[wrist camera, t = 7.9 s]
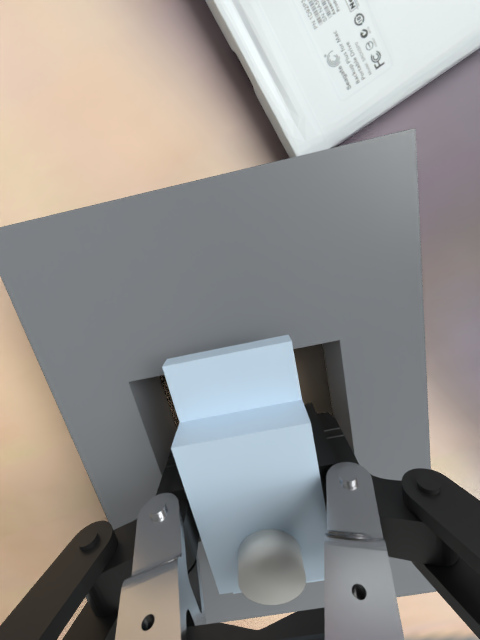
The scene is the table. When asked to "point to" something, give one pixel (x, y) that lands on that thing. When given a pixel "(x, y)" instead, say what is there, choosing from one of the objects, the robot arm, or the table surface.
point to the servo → (250, 467)
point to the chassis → (233, 314)
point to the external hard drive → (342, 58)
